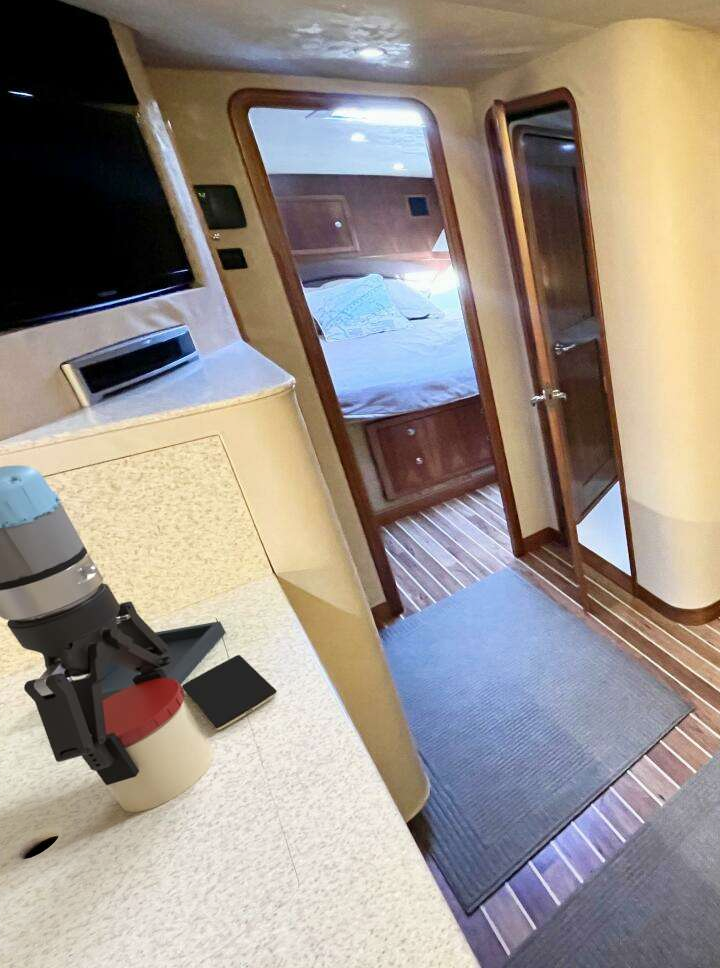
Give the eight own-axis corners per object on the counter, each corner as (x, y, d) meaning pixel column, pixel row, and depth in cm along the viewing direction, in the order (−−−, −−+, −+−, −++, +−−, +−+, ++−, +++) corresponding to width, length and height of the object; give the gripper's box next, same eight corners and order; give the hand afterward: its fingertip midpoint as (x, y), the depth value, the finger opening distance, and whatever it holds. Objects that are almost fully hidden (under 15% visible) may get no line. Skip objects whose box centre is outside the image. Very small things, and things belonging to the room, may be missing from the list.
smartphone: (216, 728, 75) (180, 685, 83) (219, 734, 75) (183, 690, 83) (277, 690, 81) (238, 653, 88) (280, 696, 81) (241, 658, 89)
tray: (66, 714, 80) (57, 701, 79) (135, 648, 92) (128, 636, 91) (173, 693, 83) (165, 681, 82) (226, 632, 95) (220, 620, 94)
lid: (194, 676, 72) (189, 666, 71) (171, 730, 64) (164, 719, 64) (96, 708, 68) (90, 698, 67) (58, 770, 60) (50, 760, 59)
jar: (100, 821, 65) (51, 755, 61) (153, 754, 73) (114, 692, 69) (186, 801, 67) (145, 736, 62) (229, 738, 75) (195, 676, 71)
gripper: (26, 660, 51) (133, 813, 59) (155, 540, 70) (222, 669, 78) (-85, 686, 48) (43, 842, 57) (80, 555, 68) (157, 686, 76)
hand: (147, 742), depth 68 cm, fingers closed on lid, 9 cm apart
